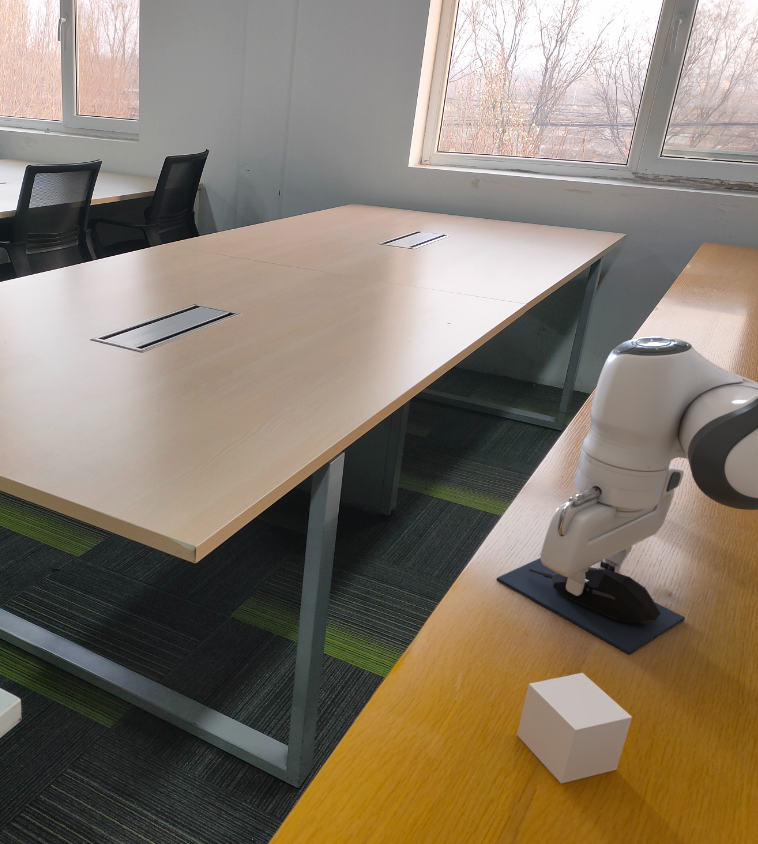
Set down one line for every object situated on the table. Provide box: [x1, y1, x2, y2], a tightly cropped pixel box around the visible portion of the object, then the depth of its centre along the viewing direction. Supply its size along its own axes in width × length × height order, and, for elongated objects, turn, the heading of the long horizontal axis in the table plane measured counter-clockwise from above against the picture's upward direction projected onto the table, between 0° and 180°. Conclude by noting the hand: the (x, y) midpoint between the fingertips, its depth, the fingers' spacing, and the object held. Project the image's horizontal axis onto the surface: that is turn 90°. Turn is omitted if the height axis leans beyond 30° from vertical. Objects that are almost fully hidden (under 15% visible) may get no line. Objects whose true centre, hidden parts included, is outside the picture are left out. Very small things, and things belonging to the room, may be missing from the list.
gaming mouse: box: [529, 566, 661, 623], centre depth 95 cm, size 6×15×4 cm, turn 44°
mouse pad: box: [496, 557, 686, 655], centre depth 96 cm, size 17×12×1 cm
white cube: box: [516, 672, 633, 784], centre depth 72 cm, size 6×6×6 cm
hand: (592, 582), depth 95 cm, fingers closed on gaming mouse, 5 cm apart
